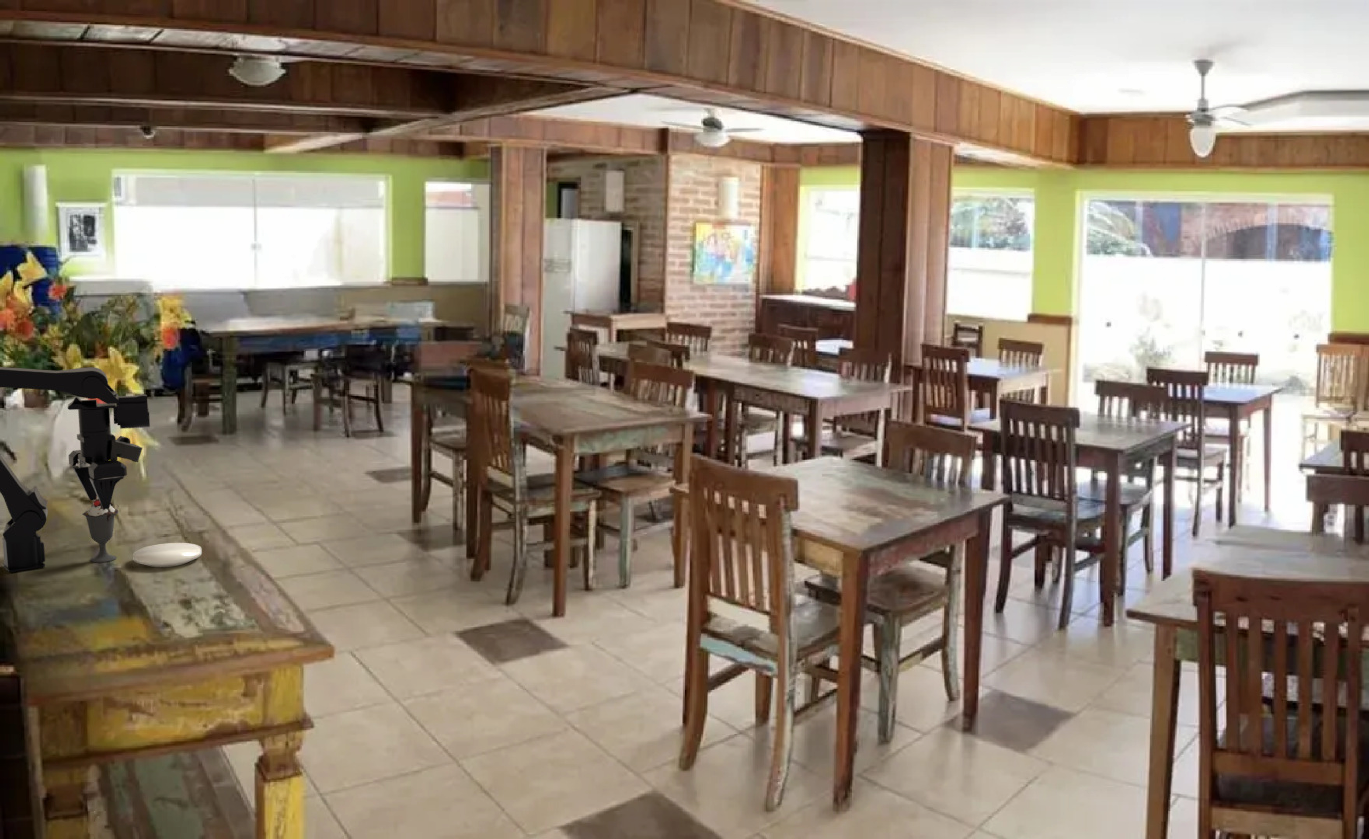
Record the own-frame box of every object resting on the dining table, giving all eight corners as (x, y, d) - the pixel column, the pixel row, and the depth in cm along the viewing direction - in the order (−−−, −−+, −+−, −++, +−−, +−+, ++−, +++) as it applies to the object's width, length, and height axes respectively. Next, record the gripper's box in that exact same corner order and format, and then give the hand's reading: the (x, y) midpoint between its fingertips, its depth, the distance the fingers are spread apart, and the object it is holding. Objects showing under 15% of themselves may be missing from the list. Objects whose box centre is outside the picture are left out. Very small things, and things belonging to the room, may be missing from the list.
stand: (145, 573, 239) (145, 564, 239) (125, 559, 249) (124, 549, 248) (211, 562, 247) (210, 553, 247) (188, 548, 257) (188, 539, 257)
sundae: (95, 565, 244) (91, 494, 241) (79, 559, 248) (74, 489, 245) (127, 558, 249) (122, 488, 246) (110, 552, 253) (106, 483, 250)
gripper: (151, 432, 242) (155, 507, 245) (122, 419, 256) (126, 490, 258) (92, 438, 235) (96, 515, 237) (65, 424, 248) (70, 497, 251)
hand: (99, 504), depth 246 cm, fingers open, 9 cm apart
